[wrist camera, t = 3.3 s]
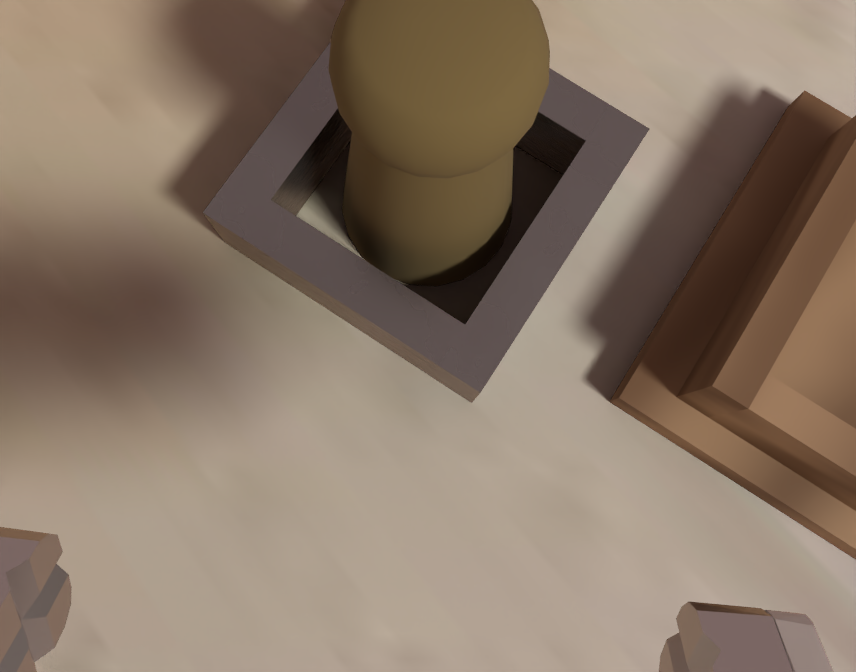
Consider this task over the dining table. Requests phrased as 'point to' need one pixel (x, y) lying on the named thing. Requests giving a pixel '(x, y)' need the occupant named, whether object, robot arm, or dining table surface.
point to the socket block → (381, 294)
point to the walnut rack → (770, 332)
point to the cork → (434, 127)
